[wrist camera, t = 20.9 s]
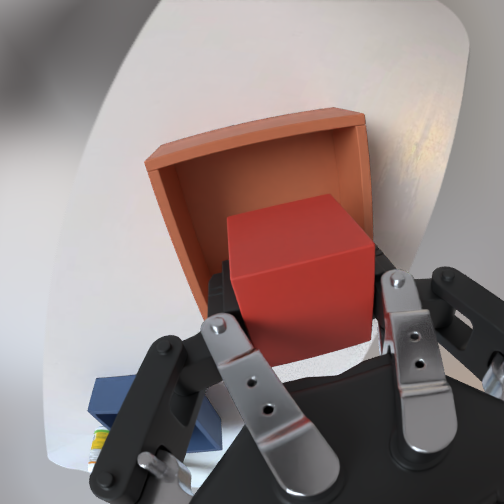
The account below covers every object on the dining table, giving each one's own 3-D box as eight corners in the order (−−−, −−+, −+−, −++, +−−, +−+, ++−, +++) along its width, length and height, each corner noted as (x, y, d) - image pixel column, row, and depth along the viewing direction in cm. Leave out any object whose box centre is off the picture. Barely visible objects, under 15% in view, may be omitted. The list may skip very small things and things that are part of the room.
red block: (226, 216, 13) (229, 279, 9) (330, 192, 13) (376, 243, 9) (249, 298, 15) (260, 370, 11) (337, 276, 15) (371, 341, 11)
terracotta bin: (160, 145, 18) (143, 161, 14) (334, 107, 17) (364, 113, 13) (208, 288, 23) (207, 329, 19) (349, 254, 23) (372, 288, 19)
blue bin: (95, 378, 28) (87, 411, 24) (188, 367, 28) (186, 405, 24) (141, 426, 34) (138, 454, 30) (221, 419, 33) (222, 450, 30)
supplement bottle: (136, 441, 36) (130, 497, 28) (107, 441, 36) (100, 493, 28) (117, 425, 34) (109, 486, 25) (88, 425, 34) (77, 481, 25)
